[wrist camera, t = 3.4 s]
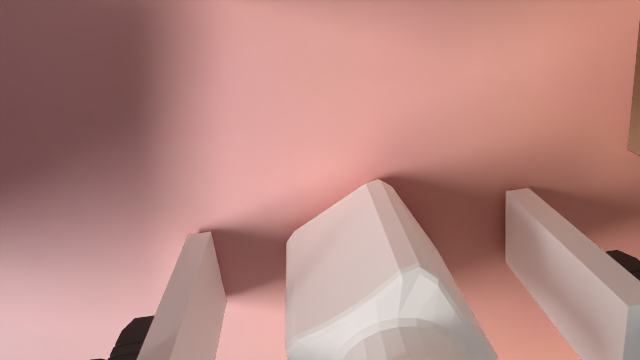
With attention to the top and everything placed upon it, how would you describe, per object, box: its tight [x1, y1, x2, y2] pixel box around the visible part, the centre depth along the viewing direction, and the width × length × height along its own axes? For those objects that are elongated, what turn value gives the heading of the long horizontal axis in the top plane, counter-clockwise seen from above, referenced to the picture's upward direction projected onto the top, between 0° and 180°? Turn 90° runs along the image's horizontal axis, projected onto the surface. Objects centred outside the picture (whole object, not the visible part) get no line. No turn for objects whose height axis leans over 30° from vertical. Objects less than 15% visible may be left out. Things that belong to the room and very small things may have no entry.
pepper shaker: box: [285, 179, 498, 360], centre depth 13 cm, size 4×4×10 cm
